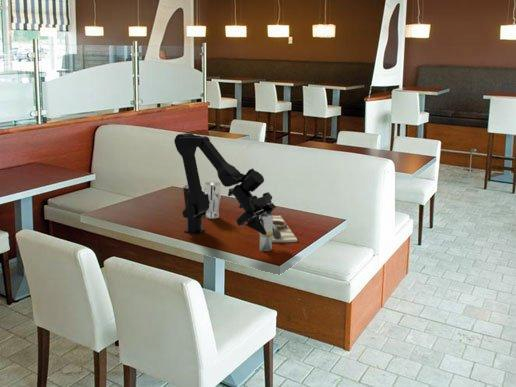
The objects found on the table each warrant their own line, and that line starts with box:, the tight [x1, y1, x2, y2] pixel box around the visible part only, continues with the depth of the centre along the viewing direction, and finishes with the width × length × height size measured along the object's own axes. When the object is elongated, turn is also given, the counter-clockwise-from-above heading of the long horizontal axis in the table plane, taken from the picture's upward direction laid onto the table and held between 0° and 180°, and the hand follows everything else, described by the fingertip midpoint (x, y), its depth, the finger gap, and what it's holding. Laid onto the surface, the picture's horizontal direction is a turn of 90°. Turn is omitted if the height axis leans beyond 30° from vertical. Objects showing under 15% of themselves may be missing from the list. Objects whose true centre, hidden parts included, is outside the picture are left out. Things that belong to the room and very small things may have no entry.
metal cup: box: [259, 213, 274, 252], centre depth 213 cm, size 5×5×13 cm
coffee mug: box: [182, 184, 203, 209], centre depth 262 cm, size 12×9×10 cm
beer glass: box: [204, 181, 222, 220], centre depth 250 cm, size 7×7×15 cm
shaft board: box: [258, 215, 298, 243], centre depth 237 cm, size 32×13×4 cm, turn 10°
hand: (269, 232), depth 212 cm, fingers closed on metal cup, 5 cm apart
